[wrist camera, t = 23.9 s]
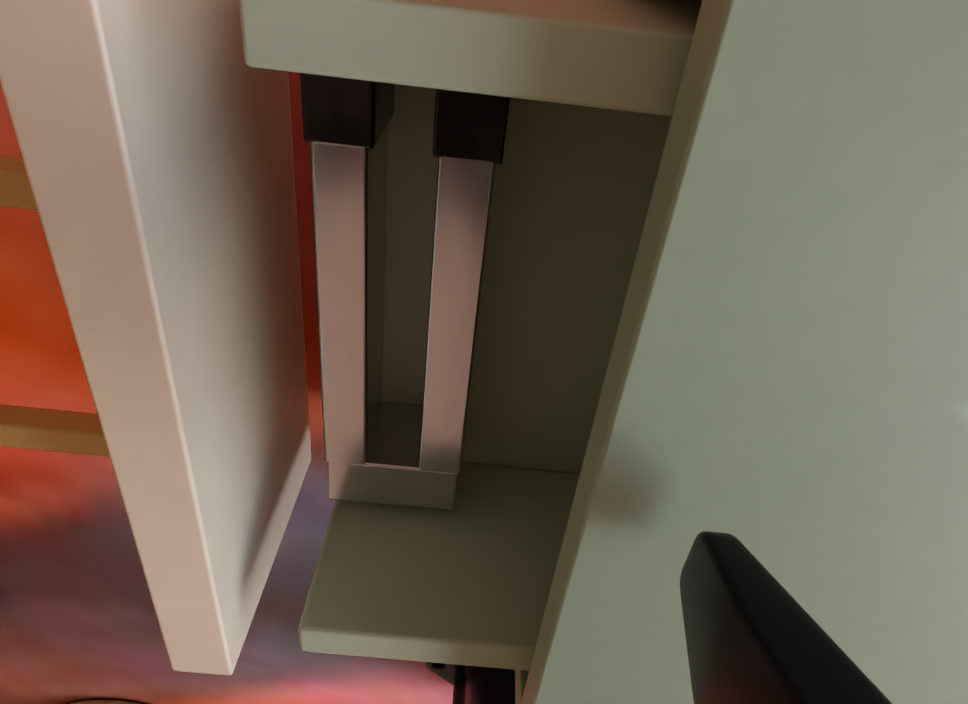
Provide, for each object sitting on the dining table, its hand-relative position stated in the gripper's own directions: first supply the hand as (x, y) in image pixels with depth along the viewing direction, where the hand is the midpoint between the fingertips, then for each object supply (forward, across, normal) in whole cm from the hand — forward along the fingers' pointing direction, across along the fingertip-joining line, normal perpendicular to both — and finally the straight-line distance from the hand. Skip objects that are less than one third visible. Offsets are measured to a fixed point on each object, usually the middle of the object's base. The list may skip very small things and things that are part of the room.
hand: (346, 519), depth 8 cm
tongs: (+7, 0, 0) cm, 7 cm away
